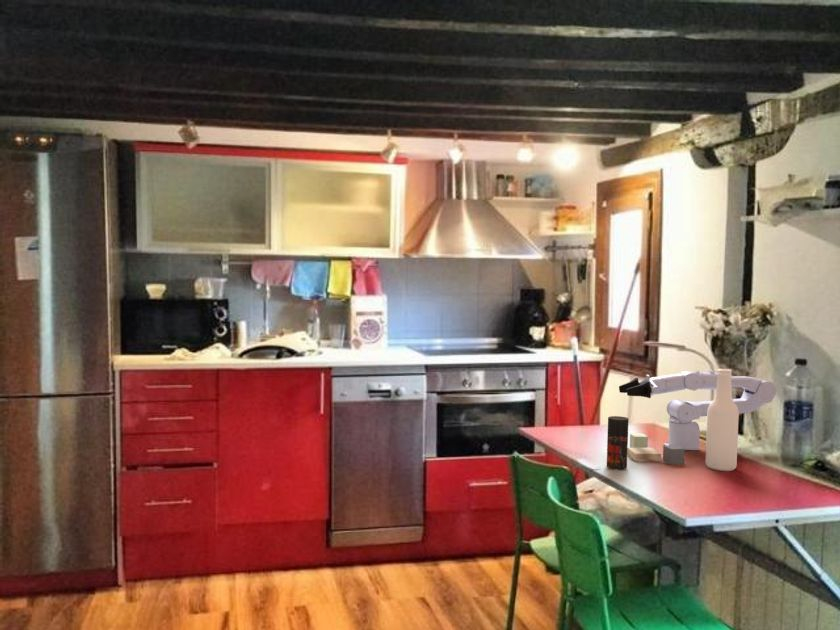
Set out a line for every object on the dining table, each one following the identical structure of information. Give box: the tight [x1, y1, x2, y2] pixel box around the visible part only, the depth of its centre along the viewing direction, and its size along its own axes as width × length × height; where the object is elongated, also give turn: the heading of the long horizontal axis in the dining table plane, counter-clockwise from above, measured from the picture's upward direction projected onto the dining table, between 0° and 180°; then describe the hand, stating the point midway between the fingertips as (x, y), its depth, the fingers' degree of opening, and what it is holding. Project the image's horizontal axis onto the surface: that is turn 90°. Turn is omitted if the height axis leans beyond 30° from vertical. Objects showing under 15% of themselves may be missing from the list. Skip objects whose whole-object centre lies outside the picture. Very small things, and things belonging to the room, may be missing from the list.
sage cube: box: [629, 433, 649, 448], centre depth 252 cm, size 4×4×5 cm
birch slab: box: [627, 447, 662, 462], centre depth 241 cm, size 8×8×2 cm
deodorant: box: [606, 415, 630, 471], centre depth 229 cm, size 6×6×15 cm
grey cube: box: [662, 445, 686, 466], centre depth 236 cm, size 4×4×5 cm
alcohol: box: [704, 368, 740, 472], centre depth 230 cm, size 9×9×30 cm
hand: (623, 390), depth 253 cm, fingers open, 7 cm apart
